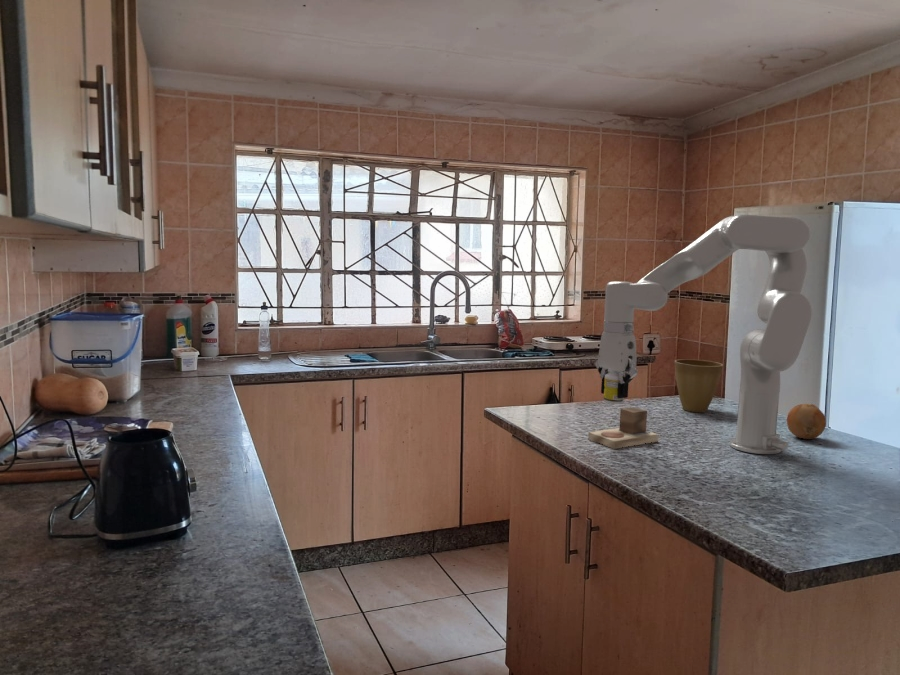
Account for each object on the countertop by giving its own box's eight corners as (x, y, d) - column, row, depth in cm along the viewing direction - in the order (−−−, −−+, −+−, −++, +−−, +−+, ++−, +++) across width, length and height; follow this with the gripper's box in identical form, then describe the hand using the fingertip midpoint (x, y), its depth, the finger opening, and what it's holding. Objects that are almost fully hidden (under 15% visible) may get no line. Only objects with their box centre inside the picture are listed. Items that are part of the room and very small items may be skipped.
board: (657, 441, 182) (658, 433, 181) (614, 448, 174) (614, 440, 174) (631, 432, 190) (631, 425, 190) (588, 439, 182) (588, 431, 182)
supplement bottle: (608, 399, 182) (611, 363, 181) (627, 402, 179) (629, 366, 178) (599, 402, 178) (601, 365, 177) (618, 405, 175) (620, 368, 174)
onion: (814, 434, 193) (817, 400, 192) (830, 444, 183) (834, 408, 182) (779, 432, 194) (782, 399, 192) (793, 442, 184) (797, 407, 183)
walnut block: (632, 434, 180) (633, 412, 179) (619, 429, 185) (620, 408, 184) (645, 432, 183) (647, 410, 182) (632, 427, 187) (633, 407, 186)
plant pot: (711, 417, 211) (715, 367, 209) (665, 410, 220) (668, 362, 218) (724, 409, 222) (728, 362, 220) (680, 402, 231) (683, 357, 229)
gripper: (652, 331, 171) (648, 400, 173) (606, 324, 185) (602, 388, 188) (631, 332, 167) (627, 403, 169) (585, 325, 182) (582, 390, 184)
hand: (614, 394), depth 178 cm, fingers closed on supplement bottle, 5 cm apart
